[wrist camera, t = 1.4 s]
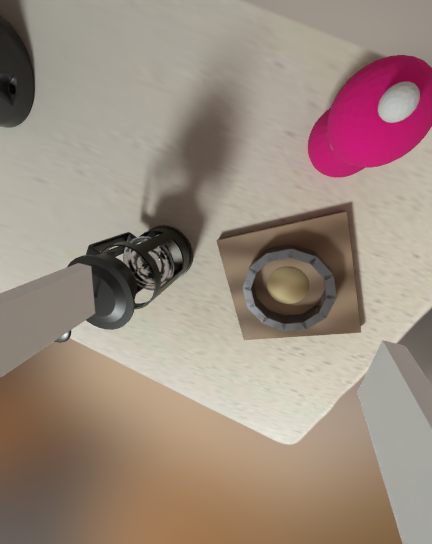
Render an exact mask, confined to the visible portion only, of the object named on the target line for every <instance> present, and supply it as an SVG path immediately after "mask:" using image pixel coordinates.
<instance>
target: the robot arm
mask: <svg viewBox="0 0 432 544" xmlns="http://www.w3.org/2000/svg"><path fill="white" fill-rule="evenodd" d="M33 95H34V81H33V73H32V68H31V64H30V60H29V57H28V54H27V52H26V49H25V47H24V45H23V43H22V41H21V39H20V38H19V36H18V34H17V33H16V32H15V30H14V29H13V28H12V26H11V25H10V24H9V23H8V22H7V21H6V20H4V19H3V18H2V17H0V126H1V127H15V126H17V125H19V124H21V123H22V122H23V121H24V120H25V118H26V117H27V115H28V114H29V112H30V109H31V106H32V102H33ZM94 314H95V305H94V293H93V282H92V270H91V266H88V265H84V264H80V263H77V264H75V265H72V266H70V267H67V268H65V269H62V270H59V271H57V272H54V273H52V274H49V275H47V276H44V277H41V278H39V279H36V280H34V281H31V282H29V283H26V284H24V285H21V286H18V287H16V288H13V289H11V290H8V291H6V292H3V293H1V294H0V378H1V377H2V376H4V375H5V374H7V373H8V372H10V371H11V370H13V369H14V368H15V367H17V366H18V365H20V364H21V363H23V362H24V361H26V360H27V359H29V358H30V357H32V356H33V355H35V354H36V353H38V352H39V351H41V350H42V349H44V348H45V347H47V346H48V345H49V344H51V343H52V342H54V341H55V340H57V339H58V338H60V337H61V336H63V335H64V334H66V333H67V332H69V331H70V330H72V329H73V328H74V327H76V326H77V325H79V324H80V323H82V322H83V321H85V320H86V319H88V318H89V317H91V316H92V315H94ZM357 393H358V397H359V400H360V404H361V407H362V410H363V413H364V417H365V420H366V423H367V427H368V430H369V433H370V436H371V440H372V443H373V447H374V450H375V453H376V457H377V460H378V463H379V467H380V470H381V473H382V477H383V480H384V483H385V486H386V490H387V493H388V496H389V500H390V503H391V507H392V510H393V513H394V516H395V520H396V523H397V526H398V530H399V533H400V536H401V539H402V543H403V544H432V385H431V384H430V382H429V381H428V379H427V378H426V376H425V375H424V373H423V372H422V371H421V369H420V367H419V366H418V364H417V363H416V361H415V360H414V359H413V357H412V355H411V354H410V352H409V351H408V349H407V348H406V346H403V345H399V344H395V343H391V342H387V341H383V340H382V342H381V345H380V347H379V349H378V351H377V353H376V355H375V357H374V359H373V361H372V363H371V365H370V367H369V370H368V372H367V374H366V376H365V378H364V380H363V382H362V384H361V386H360V388H359V390H358V392H357Z"/></svg>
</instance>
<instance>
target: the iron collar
mask: <svg viewBox="0 0 432 544" xmlns="http://www.w3.org/2000/svg"><path fill="white" fill-rule="evenodd" d="M287 258H293V259H296V260H299V261H302V262H305V263H308V264H311V265H312V266H313V267H314V268H315V270H316V271H317V272H318V273H319V274H320V275H321V276H322V277H323V282H324V292H323V294H322V296H321V298H320V300H319V302H318V304H317V305H316V306H314V307H312V308H311V309H309V310H308V311H306V312H305V313H303V314H296V315H286V316H284V315H282V314H279V313H276V312H273V311H271V310H268V309H267V308H266V307H265V306H264V305H263V304H262V303H261V301H260V300H259V299H258V298H257V296H256V292H255V288H254V284H253V282H254V279H255V276H256V273H257V272H258V271H259V270H261V269H262V268H263V267H264V266H266V265H267V264H268V263H269V262H270V261H275V260H281V259H287ZM243 292H244V296H245V300H246V304H247V308H248V309H249V310H250V311H251V312H252V313H253V314H254V315H255V316H256V317H257V318H258V319H259V320H260V321H261V322H262V323H263V324H266V325H268V326H271V327H274V328H276V329H279V330H282V331H292V330H307V329H308V328H310V327H312V326H313V325H315V324H317V323H318V322H320V321H322V320H323V319H325V318H327V316H328V314H329V312H330V310H331V308H332V306H333V304H334V302H335V300H336V298H337V296H336V289H335V282H334V275H333V272H332V270H331V268H330V267H329V266H328V265H327V264H326V263H325V262H324V261H323V260H322V259H321V257H320V256H319V255H318V254H317V253H316V252H315V251H312V250H309V249H305V248H302V247H299V246H296V245H292V244H290V245H285V246H280V247H275V248H270V249H267V250H266V251H265V252H264V253H263V254H261V255H260V256H259V257H258V258H257V259H255V260H254V261H253V262H252V263H251V265H250V267H249V269H248V273H247V276H246V279H245V282H244V285H243Z"/></svg>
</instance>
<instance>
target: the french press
mask: <svg viewBox="0 0 432 544" xmlns="http://www.w3.org/2000/svg"><path fill="white" fill-rule="evenodd" d="M158 234H160V235H158ZM156 235H158V236H156ZM172 240H173V241H174V242H175V243H176V244H177V245H178V247H179V249H180V251H181V254H182V258H183V265H182V266H181V268H180V269H178V270H177V271H174V262H173V258H172V256H171V254H170V252H169V250H168V249H167V247H166V246H165V245H164V244H166V243H168V242H170V241H172ZM114 246H118V247H116V248H113V249H111V250H109V249H110V248H112V247H114ZM123 253H124V255H123V261H124V263H123V262H122V261H121V260H119V259H117V258H116V256H118V255H121V254H123ZM192 259H193V253H192V248H191V245H190V243H189V241H188V239H187V238H186V237H185V235H184V234H183V233H181V232H180V231H179V230H177V229H175V228H173V227H170V226H158V227H155V228H153V229H151V230H150V231H148V232H145V233H144V234H142V235H141V236H140V237H136V236H134V235H133V234H131V233H130V232H127V233H124V234H121V235H118V236H115V237H112V238H109V239H106V240H103V241H100V242H97V243H94V244H91V245H89V246H88V250H87V253H86V255H84V256H81V257H78V258H76V259H74V260H73V261H71V262H70V264H69V265H68V266H67V267H70V266H72V265H75V264H77V263H80V264H84V265H88V266H91V270H92V282H93V293H94V305H95V314H94V315H92V316H91V317H89V318H88V319H86V321H88V322H89V323H91V324H92V325H94V326H97V327H99V328H103V329H112V330H113V329H118V328H120V327H122V326H124V325H125V324H126V323H127V322H128V321H129V320H130V319H131V317H132V315H133V312H134V309H140V308H143V307H145V306H147V305H148V304H149V303H150V302H151V301H152V300H154V299H155V298H156V297H157V296H158V295H159V294H160V293H161V292H163V291H164V290H165V289H166V288H167V287H168V286H169V285H171V284H172V283H173V282H174V281H175V280H176V279H177V278H179V277H181V276H183V275H184V274H185V273H186V272H187V271H188V270H189V268H190V266H191V264H192ZM143 288H145V289H148V290H154V293H153V296H152V298H151V300H150V301H148V302H146V303H141V304H136V303H135V300H134V299H135V296H136V294H137V293H138V292H139V291H141V290H142V289H143ZM70 336H71V330H70V331H69V332H67V333H66V334H64V335H63V336H61V337H60V338H58V339H57V340H55V341H54V342H65V341H67V340H68V339H69V338H70Z"/></svg>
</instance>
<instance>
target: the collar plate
mask: <svg viewBox="0 0 432 544" xmlns="http://www.w3.org/2000/svg"><path fill="white" fill-rule="evenodd" d="M217 244H218V247H219V251H220V255H221V258H222V262H223V266H224V269H225V273H226V276H227V280H228V284H229V287H230V291H231V295H232V298H233V302H234V305H235V309H236V313H237V316H238V320H239V324H240V327H241V331H242V334H243V338H244V340H252V339H267V338H283V337H298V336H313V335H329V334H344V333H359V332H361V327H360V318H359V310H358V302H357V293H356V285H355V276H354V268H353V259H352V251H351V242H350V234H349V225H348V217H347V211H341V212H337V213H332V214H328V215H323V216H319V217H314V218H310V219H305V220H301V221H297V222H292V223H288V224H283V225H279V226H274V227H270V228H265V229H261V230H257V231H252V232H248V233H243V234H239V235H234V236H230V237H225V238H221V239H218V240H217ZM290 244H292V245H296V246H299V247H302V248H305V249H309V250H312V251H315V252H316V253H317V254H318V255H319V256H320V257H321V259H322V260H323V261H324V262H325V263H326V264H327V265H328V266H329V267H330V268H331V270H332V272H333V275H334V282H335V289H336V296H337V298H336V300H335V302H334V304H333V306H332V308H331V310H330V312H329V314H328V316H327V318H325V319H323V320H322V321H320V322H318V323H317V324H315V325H313V326H312V327H310V328H308V329H307V330H292V331H282V330H279V329H276V328H274V327H271V326H268V325H266V324H263V323H262V322H261V321H260V320H259V319H258V318H257V317H256V316H255V315H254V314H253V313H252V312H251V311H250V310H249V309H248V308H247V304H246V300H245V296H244V292H243V285H244V282H245V279H246V276H247V273H248V269H249V267H250V265H251V263H252V262H253V261H254V260H255V259H257V258H258V257H259V256H260V255H261V254H263V253H264V252H265V251H266V250H267V249H270V248H275V247H280V246H285V245H290ZM253 284H254V288H255V292H256V296H257V298H258V299H259V300H260V301H261V303H262V304H263V305H264V306H265V307H266V308H267V309H268V310H271V311H273V312H276V313H279V314H282V315H284V316H286V315H296V314H303V313H305V312H306V311H308V310H309V309H311V308H312V307H314V306H316V305H317V304H318V302H319V300H320V298H321V296H322V294H323V292H324V282H323V277H322V276H321V275H320V274H319V273H318V272H317V271H316V270H315V268H314V267H313V266H312V265H311V264H308V263H305V262H302V261H299V260H296V259H293V258H287V259H281V260H275V261H270V262H269V263H268V264H267V265H266V266H264V267H263V268H262V269H261V270H259V271H258V272H257V273H256V276H255V279H254V282H253Z"/></svg>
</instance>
